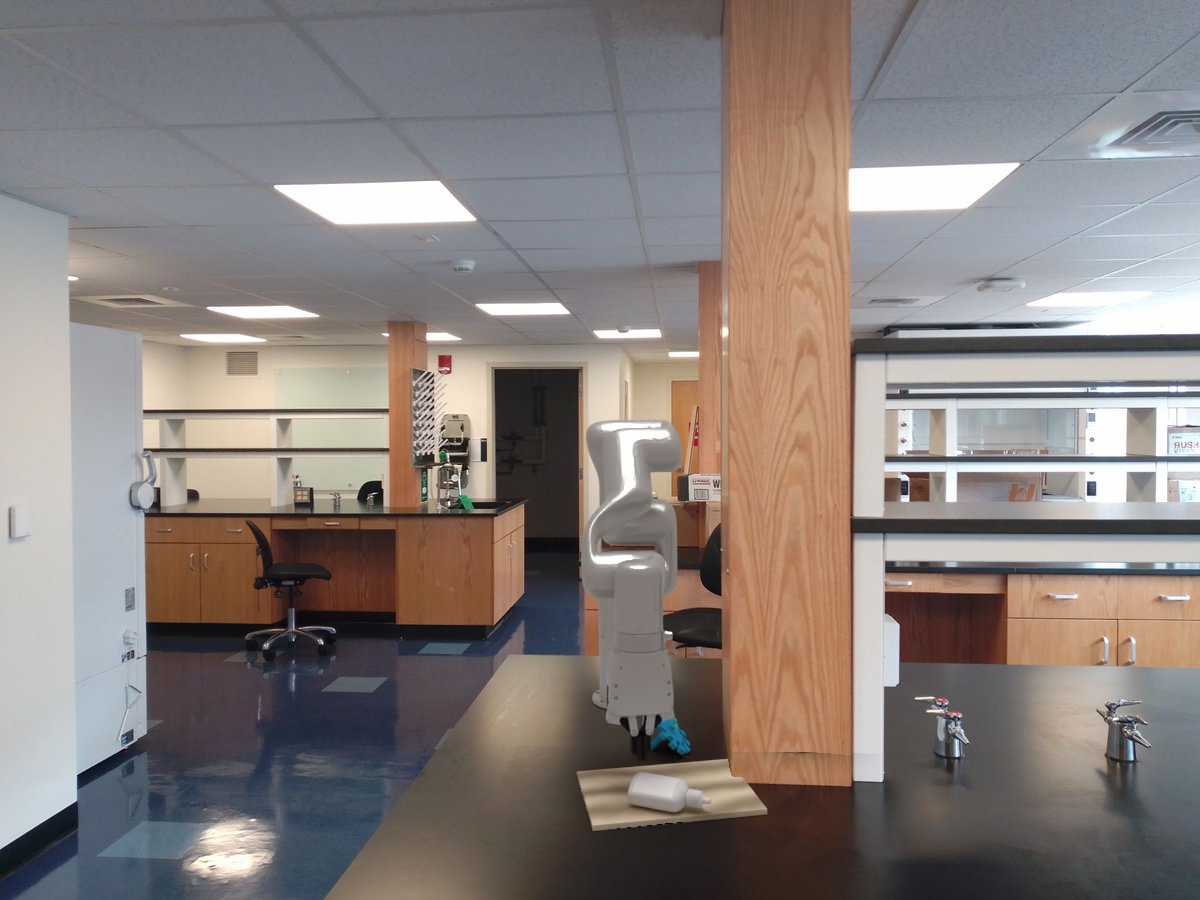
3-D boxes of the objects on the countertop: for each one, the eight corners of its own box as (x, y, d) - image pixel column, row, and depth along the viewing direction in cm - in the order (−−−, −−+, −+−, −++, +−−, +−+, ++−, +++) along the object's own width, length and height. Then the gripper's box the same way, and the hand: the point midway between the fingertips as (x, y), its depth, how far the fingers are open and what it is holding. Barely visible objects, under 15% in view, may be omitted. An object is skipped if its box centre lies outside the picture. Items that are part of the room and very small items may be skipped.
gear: (686, 756, 132) (647, 709, 135) (662, 778, 133) (623, 731, 136) (699, 740, 143) (661, 697, 146) (676, 761, 144) (639, 718, 147)
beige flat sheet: (576, 776, 129) (576, 771, 129) (728, 763, 133) (728, 758, 133) (592, 831, 111) (592, 825, 111) (767, 814, 115) (767, 809, 115)
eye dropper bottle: (628, 773, 117) (706, 787, 112) (640, 770, 122) (716, 783, 117) (625, 804, 116) (704, 820, 111) (638, 800, 121) (713, 815, 116)
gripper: (679, 631, 126) (681, 744, 126) (587, 636, 123) (589, 752, 124) (692, 644, 118) (694, 764, 119) (594, 649, 116) (596, 772, 117)
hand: (640, 757), depth 121 cm, fingers closed
